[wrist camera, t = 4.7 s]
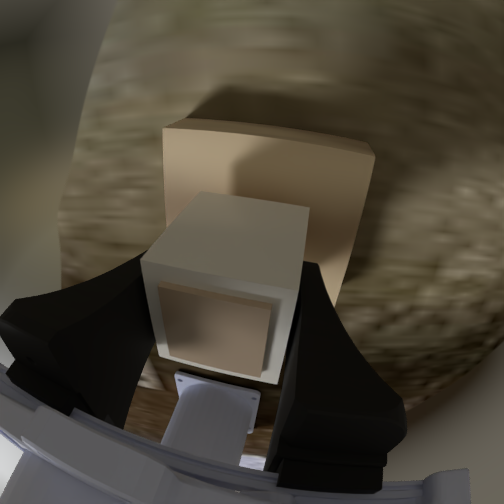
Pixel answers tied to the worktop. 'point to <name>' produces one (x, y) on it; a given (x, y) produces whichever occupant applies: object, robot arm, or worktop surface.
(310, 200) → the maple block
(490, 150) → the worktop surface
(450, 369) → the worktop surface
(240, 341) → the box
